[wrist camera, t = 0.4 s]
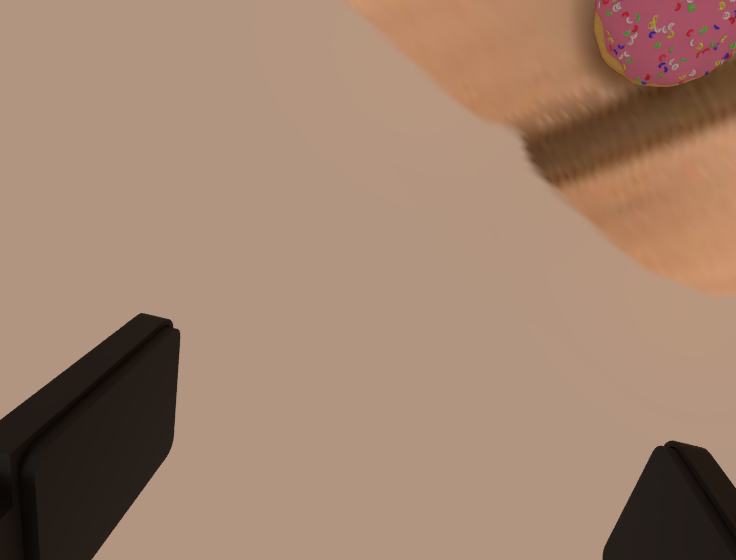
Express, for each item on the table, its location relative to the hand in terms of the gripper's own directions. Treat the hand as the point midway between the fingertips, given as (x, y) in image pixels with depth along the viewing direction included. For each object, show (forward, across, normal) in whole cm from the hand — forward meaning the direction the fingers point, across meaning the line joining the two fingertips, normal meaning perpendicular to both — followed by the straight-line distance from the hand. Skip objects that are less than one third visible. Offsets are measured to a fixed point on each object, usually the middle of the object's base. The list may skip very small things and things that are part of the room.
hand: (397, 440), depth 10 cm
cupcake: (+31, -11, -13) cm, 35 cm away
